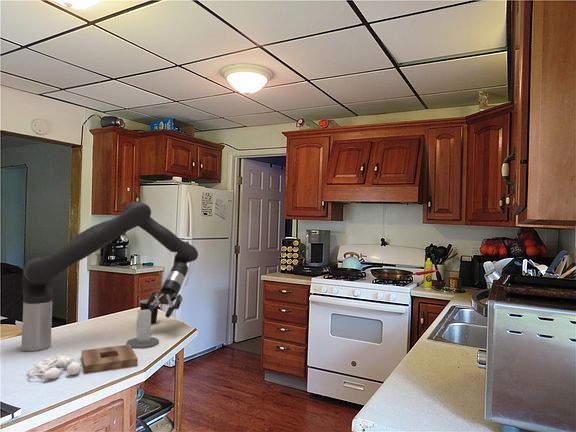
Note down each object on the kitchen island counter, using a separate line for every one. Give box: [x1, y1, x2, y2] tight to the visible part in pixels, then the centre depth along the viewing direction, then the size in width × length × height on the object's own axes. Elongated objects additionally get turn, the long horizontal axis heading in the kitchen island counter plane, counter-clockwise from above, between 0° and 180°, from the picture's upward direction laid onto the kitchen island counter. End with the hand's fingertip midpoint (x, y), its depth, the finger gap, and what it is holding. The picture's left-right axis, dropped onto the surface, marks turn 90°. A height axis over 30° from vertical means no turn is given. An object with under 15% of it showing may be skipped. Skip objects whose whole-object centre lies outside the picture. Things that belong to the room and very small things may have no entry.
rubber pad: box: [126, 336, 160, 349], centre depth 159 cm, size 12×12×1 cm
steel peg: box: [136, 309, 152, 344], centre depth 159 cm, size 4×4×12 cm
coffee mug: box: [139, 299, 160, 325], centre depth 190 cm, size 12×9×10 cm
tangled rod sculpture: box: [27, 354, 83, 380], centre depth 130 cm, size 19×14×4 cm
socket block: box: [80, 344, 139, 374], centre depth 139 cm, size 16×16×2 cm
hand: (157, 315), depth 168 cm, fingers open, 8 cm apart
